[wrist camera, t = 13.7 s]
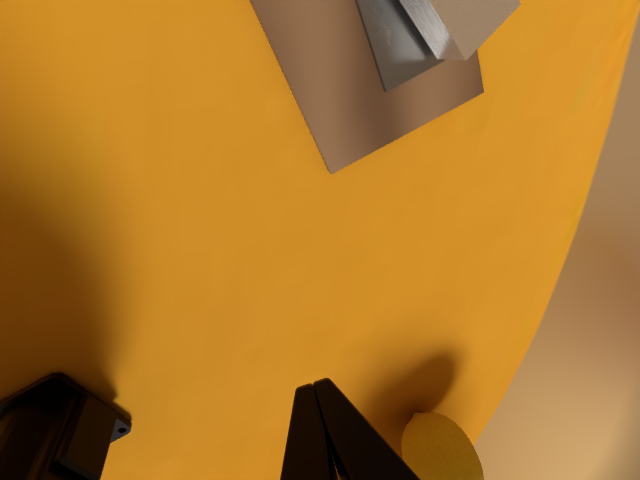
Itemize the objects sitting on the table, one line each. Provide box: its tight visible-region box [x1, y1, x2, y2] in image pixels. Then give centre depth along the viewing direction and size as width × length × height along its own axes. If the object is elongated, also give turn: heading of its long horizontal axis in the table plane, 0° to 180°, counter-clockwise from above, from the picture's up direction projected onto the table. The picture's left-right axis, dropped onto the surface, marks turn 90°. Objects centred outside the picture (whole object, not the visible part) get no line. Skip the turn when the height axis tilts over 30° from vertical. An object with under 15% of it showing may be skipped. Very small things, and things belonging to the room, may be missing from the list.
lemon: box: [401, 412, 484, 480], centre depth 28 cm, size 6×6×8 cm
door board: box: [250, 0, 484, 174], centre depth 16 cm, size 9×12×1 cm
